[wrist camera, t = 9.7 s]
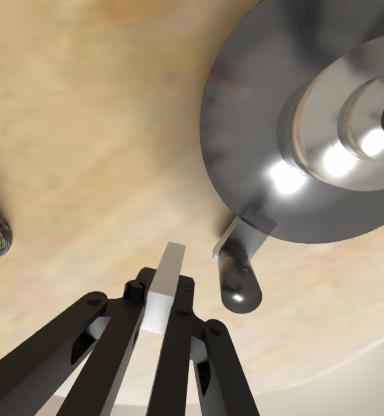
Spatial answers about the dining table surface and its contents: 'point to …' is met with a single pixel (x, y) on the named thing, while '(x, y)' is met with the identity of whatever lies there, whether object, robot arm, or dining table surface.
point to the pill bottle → (4, 238)
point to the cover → (339, 122)
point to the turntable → (266, 135)
